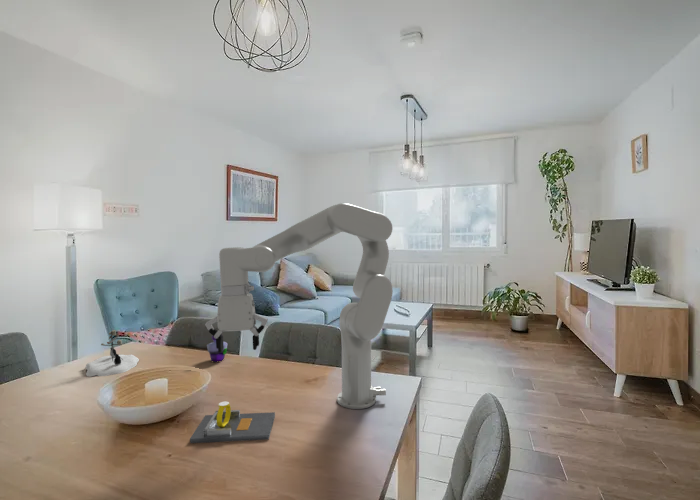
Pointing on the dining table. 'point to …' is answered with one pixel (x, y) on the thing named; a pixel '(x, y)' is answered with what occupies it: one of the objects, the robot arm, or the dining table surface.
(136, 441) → the dining table surface
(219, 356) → the potion bottle
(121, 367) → the figurine
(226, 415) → the watch
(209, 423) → the gray fixture board
